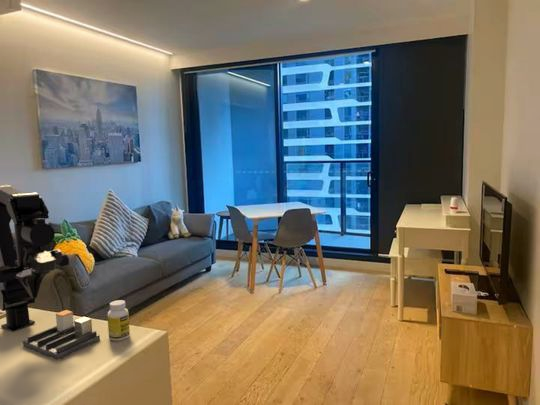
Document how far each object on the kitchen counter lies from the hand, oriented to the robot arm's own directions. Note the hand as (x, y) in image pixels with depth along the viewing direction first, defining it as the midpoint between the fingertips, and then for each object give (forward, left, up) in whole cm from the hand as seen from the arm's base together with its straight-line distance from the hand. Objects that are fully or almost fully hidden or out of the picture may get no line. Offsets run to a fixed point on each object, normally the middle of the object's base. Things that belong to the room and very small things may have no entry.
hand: (34, 298), depth 110 cm
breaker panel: (+8, +2, -12) cm, 14 cm away
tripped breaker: (+4, +6, -10) cm, 12 cm away
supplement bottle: (+18, +12, -12) cm, 25 cm away
